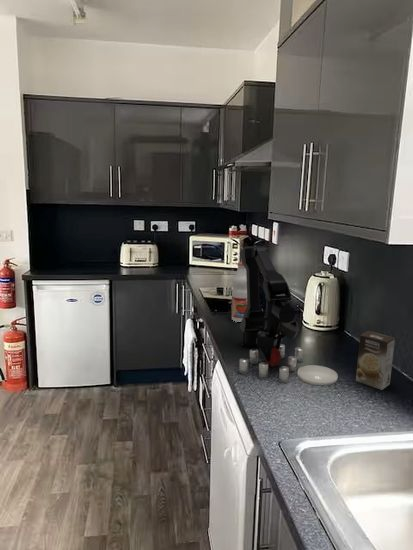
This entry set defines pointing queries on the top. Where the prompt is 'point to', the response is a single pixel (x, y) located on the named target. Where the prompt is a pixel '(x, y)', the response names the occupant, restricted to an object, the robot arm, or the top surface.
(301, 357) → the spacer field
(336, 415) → the top surface
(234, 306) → the fruit juice
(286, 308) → the robot arm
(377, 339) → the coffee box
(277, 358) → the onion
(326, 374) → the plate
